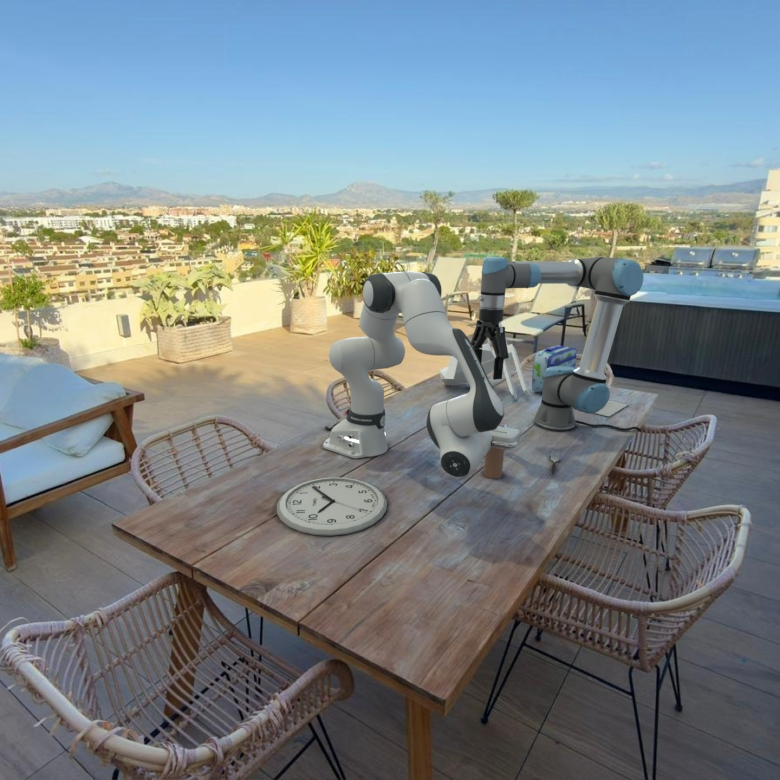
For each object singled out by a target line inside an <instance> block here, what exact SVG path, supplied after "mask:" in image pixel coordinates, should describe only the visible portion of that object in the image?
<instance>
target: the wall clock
mask: <svg viewBox="0 0 780 780" xmlns="http://www.w3.org/2000/svg"><path fill="white" fill-rule="evenodd" d="M387 509H388V500H387V498H386V496H385V494H384V493H383V492H382V491H381V490H380V489H379V488H377V487H376V486H374V485H372V484H371V483H369V482H365V481H362V480H359V479H355V478H349V477H338V476H337V477H335V476H333V477H332V476H331V477H322V478H317V479H312V480H307V481H305V482H302V483H299V484H297V485H295V486H293V487H292V488H290V489H288V490H287V491H286V492H285V493H284V494H283V495H281V496H280V498H279V499H278V502H277V503H276V515H277V517H278V518H279V520H280V521H281V522H282V523H283V524H285V525H286V526H287V527H288V528H290V529H293V530H295V531H297V532H299V533H303V534H308V535H312V536H327V537H328V536H329V537H331V536H332V537H333V536H342V535H350V534H352V533H356V532H361V531H363V530H366V529H368V528H369V527H372V526H373V525H375V524H376V523H378V522H379V521H380V520H381V519H382V518H383V517H384V516H385V514H386V512H387Z"/></svg>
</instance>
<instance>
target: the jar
mask: <svg viewBox="0 0 780 780" xmlns="http://www.w3.org/2000/svg"><path fill="white" fill-rule="evenodd" d="M502 424H506V423H505V422H503V421H501V423H500V424H499V426H501V425H502ZM504 457H505V450H504V449H498V448H493V447H491V448H490V450H489V451H488V453H487V454H486V456H485V457H484V464H483V465H484V467H483V476H484V477H486V478H488V479H493V480H496V479H501V478H502V477H503V470H504V469H503V468H504Z"/></svg>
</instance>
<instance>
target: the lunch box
mask: <svg viewBox="0 0 780 780" xmlns="http://www.w3.org/2000/svg"><path fill="white" fill-rule="evenodd" d="M576 362H577V348H576V347H571V346H565V345H553V346H550V347H546V348H545V349H542V350H539V351H538V352H537V353H536V354H535V356H534V358H533V365H532V376H531V377H532V378H531V390H532V391H533V392H537V393H541V394H542V391H543V380H544V374H545V370H546V369H547V368H549V367H556V366H566V367H574V368H576V364H577V363H576Z"/></svg>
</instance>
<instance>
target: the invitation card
mask: <svg viewBox="0 0 780 780" xmlns="http://www.w3.org/2000/svg"><path fill="white" fill-rule="evenodd" d="M628 406H629V404H627V403H623V402H618V401H614V400H610V399H609V400H608V402H607V404H606V405H605V406H604V407H603V408H602V409H600V410H599V411H598V412H596V413H595V414H596V415H600V416H604V417H608V418H609V417H611V416H613V415H614V414H616V413H617V412H619V411H621V410H623V409H624V408H626V407H628Z"/></svg>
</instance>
